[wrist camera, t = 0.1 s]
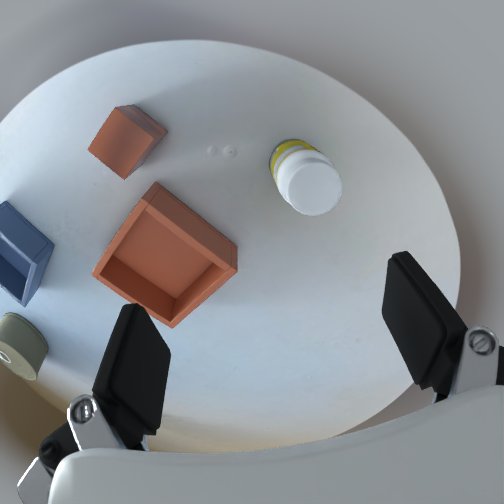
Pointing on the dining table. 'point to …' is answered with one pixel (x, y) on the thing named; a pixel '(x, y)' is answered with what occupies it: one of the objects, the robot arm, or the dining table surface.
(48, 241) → the blue bin
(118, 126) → the block
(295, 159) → the supplement bottle
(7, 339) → the can
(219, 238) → the terracotta bin
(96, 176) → the dining table surface
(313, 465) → the robot arm
